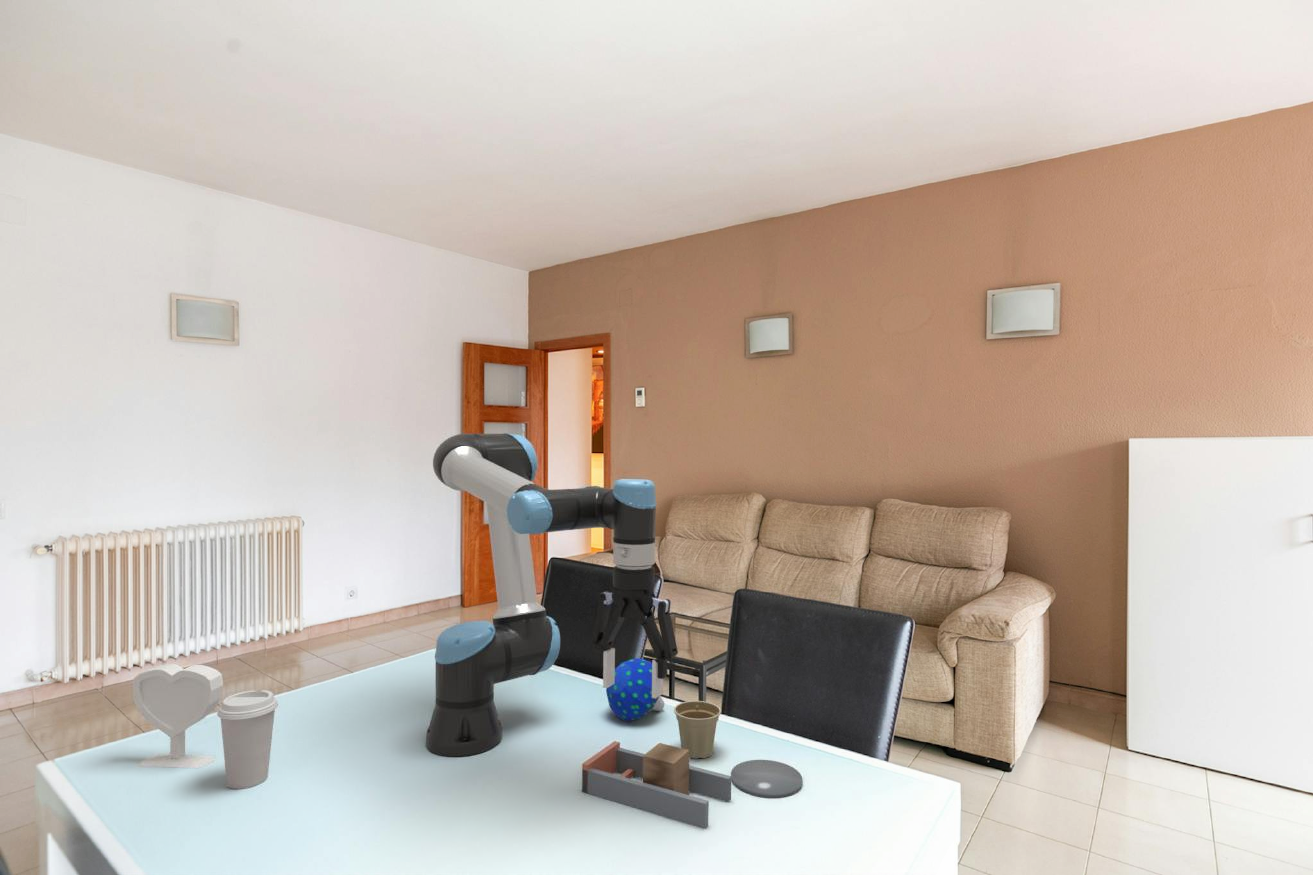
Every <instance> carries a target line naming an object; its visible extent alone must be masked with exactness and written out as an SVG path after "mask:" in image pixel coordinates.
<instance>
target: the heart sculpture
mask: <svg viewBox="0 0 1313 875" xmlns="http://www.w3.org/2000/svg"><path fill="white" fill-rule="evenodd" d="M131 690H132V696H133V702H134V705H135V707H136V708H137V711H138V712H139V713H140V715H141V717H143V718H144V719H145V720H146V721H147V722H148V723H149V724H150V725H152V726H153V727H155V728H156V729H157V730H158V731H160V732H163V733H164V734H165V735H167V736H168V737H169V740H170V745H169V746H170V748H169V749H170V752H169V754H168V753H167V754H166V753H163V754H162V753H157V754H155V755H151V756H149V757H146V758H144V759H143V760H141V762H139V764H138V766H139V767H157V768H158V767H159V768H184V769H186V768H187V769H188V768H190V769H199V768H202V767H204V766H207V765H209V764H211V763H213V762H214V761H215V759H216V755H199V754H198V755H195V754H194V755H192V754H186V730H188V729H190V728H191V727H192V726H193V725H195V724H197V723H198V722H200V721H202V720H204V719H205V718H206V717H207V716H209V715H210V714H211V713H212V712H214V711H215V709H216V707H217V706H218V704H219V703H220V701H221V699H222V696H223V690H224V680H223V674H222V673H221V672H220V671H219V670H217V669H215V668H213V667H210V666H207V665H204V664H193V665H190V666H188V667H186V668H183V667H182V666H180V665H178V664H176V663H166V664H162V665H158V666H156V667H153V668H150V669H147V670H145V671H143V672H141V673H138V675H137V676H135V677H133V683H132V689H131Z"/></svg>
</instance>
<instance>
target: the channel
mask: <svg viewBox="0 0 1313 875" xmlns="http://www.w3.org/2000/svg"><path fill="white" fill-rule="evenodd" d="M645 754H646V753H643V752H639V751H634V750H631V749H628V748H627V749H626V748H623V747H621V742H619V741H618V740H616V741H615V740H614V741H613V742H611V743H609V744H608V745H607V746H605V747H604V748H603V749H601V750H600V751H598V752H596V753H595V754H594V755H592V756H591V757H590V758H588V759H587V760H586V761H584V762H583V763H581V766H582V767H581V792H582V793H585V794H589V795H591V796H595V797H598V798H601V799H604V800H608V801H612V802H615V803H617V804H622V805H623V806H624V805H625V806H628V807H631V808H634V809H638V810H641V811H645V812H648V813H651V814H655V815H657V816H662V817H665V818H667V819H672V820H674V821H677V822H681V823H685V824H687V825H691V826H695V827H698V828H701V829H705V830H706V828H707V827H708V826H709V804H710V802H709V800H708V799H705V798H699V797H697V796H696V797H695V796H693V795H690V794H689V795H686V794H683V793H679V792H676V791H672V790H668V789H665V788H661V787H658V786H654V785H650V784H647V783H643V781H639V780H636V779H633V777H636V778H639V779H643V755H645ZM617 772H618V773H621V774H620V775H619V774H618V775H617V774H615V773H617ZM689 793H693V794H696V795H697V794H698V795H702V796H705V797H708V798H712V799H716V800H719V801H722V802H726V803H729V802H731V800H732V781H731V775H728V774H724V773H722V772H716V771H714V770H713V771H712V770H709V769H705V768H701V767H697V766H693V765H691V764H689Z"/></svg>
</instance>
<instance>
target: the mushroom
mask: <svg viewBox="0 0 1313 875" xmlns="http://www.w3.org/2000/svg"><path fill="white" fill-rule="evenodd" d="M605 691H606V692H605V693H606V696H607V701H608V706H609V708H610V709H611V711H612V713H613V714H614V715H615V716H617V717H619V718H620V719H621V720H622V721H624V722H632V721H636V720H640V719H643V718H644V717H645V716H646V715H648V713H649V712H650V711H655V712H661V711H662V710H663V709H664V707H665V701H664V700H663V698H662V697H661V696H662V695H660V696H659V697H657V698H656V699H655V698H652V661H650V660H646V659H644V658H640V657H639V658H638V657H637V658H631V659H628V660H626V661H623V662H621V663H620V664H619V665H618V666H617V667H615V684H613V685H611V686H610V687H608V688H605Z"/></svg>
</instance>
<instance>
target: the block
mask: <svg viewBox="0 0 1313 875" xmlns="http://www.w3.org/2000/svg"><path fill="white" fill-rule="evenodd" d="M644 754H645V755H643V778H642V782H643V783H647V784H650V785H654V786H658V787H661V788H665V789H668V790H672V791H676V792H679V793H683V794H686V795H690V791H689V765H690V757H689V750H687V749H683V748H681V747H678V746H673V745H670V744H666V743H662V742H659V743H657V744H656V745H655V746H654V747H652V748H651V749H650V750H648V751H647V752H646V753H644Z"/></svg>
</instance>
